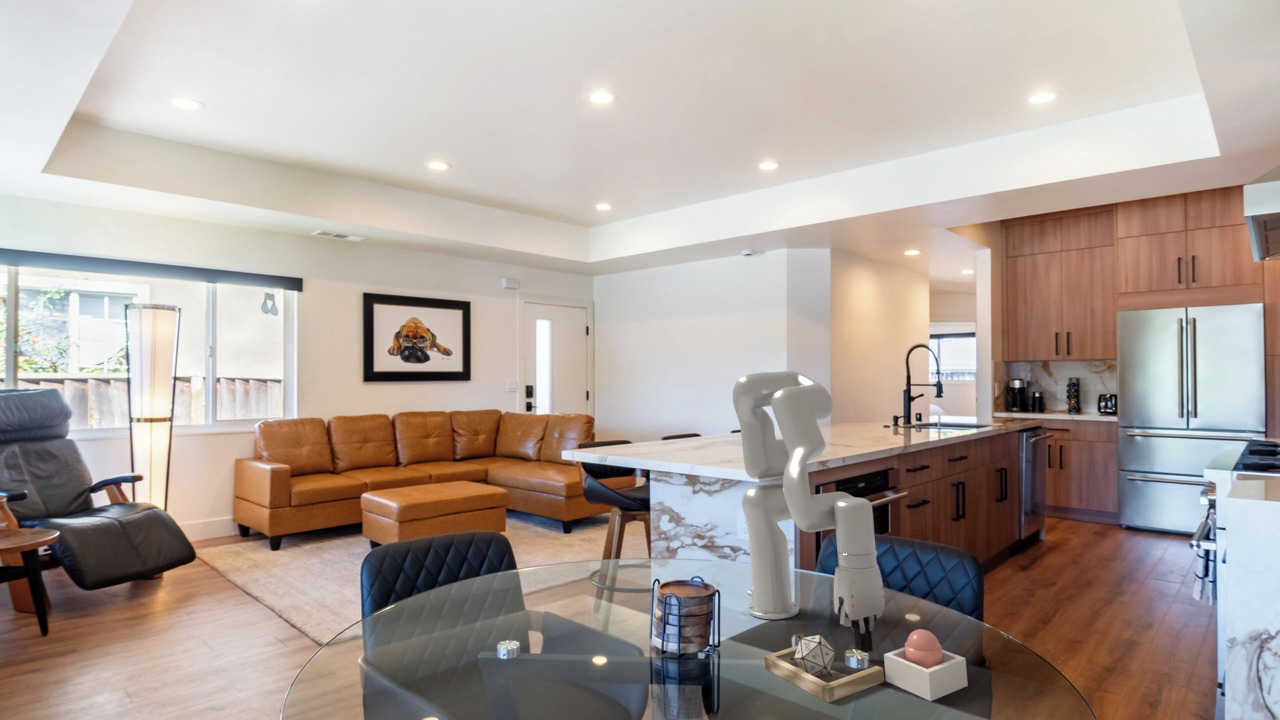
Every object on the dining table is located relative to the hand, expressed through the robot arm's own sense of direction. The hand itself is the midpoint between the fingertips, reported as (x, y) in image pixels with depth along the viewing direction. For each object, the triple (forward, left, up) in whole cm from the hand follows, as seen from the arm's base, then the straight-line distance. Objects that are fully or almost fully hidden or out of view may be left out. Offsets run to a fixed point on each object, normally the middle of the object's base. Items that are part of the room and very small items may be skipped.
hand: (864, 649), depth 138 cm
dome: (+14, +1, +2) cm, 14 cm away
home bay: (0, -12, -2) cm, 12 cm away
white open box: (+14, +1, -2) cm, 14 cm away
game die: (0, -13, -2) cm, 13 cm away
